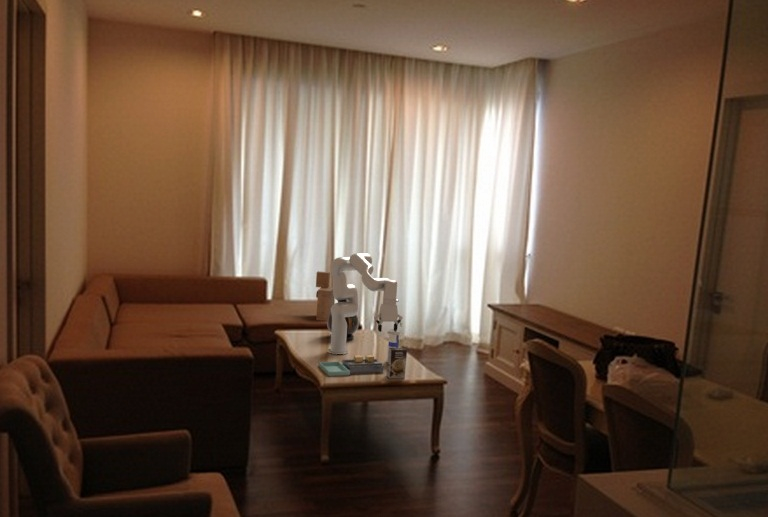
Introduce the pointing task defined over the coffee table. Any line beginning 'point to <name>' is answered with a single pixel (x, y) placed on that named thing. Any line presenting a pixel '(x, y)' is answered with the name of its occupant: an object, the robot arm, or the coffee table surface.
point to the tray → (334, 369)
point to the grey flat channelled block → (362, 366)
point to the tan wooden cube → (358, 359)
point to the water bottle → (393, 340)
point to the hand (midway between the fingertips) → (387, 331)
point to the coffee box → (396, 362)
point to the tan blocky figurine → (324, 296)
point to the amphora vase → (351, 324)
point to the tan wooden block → (369, 358)
